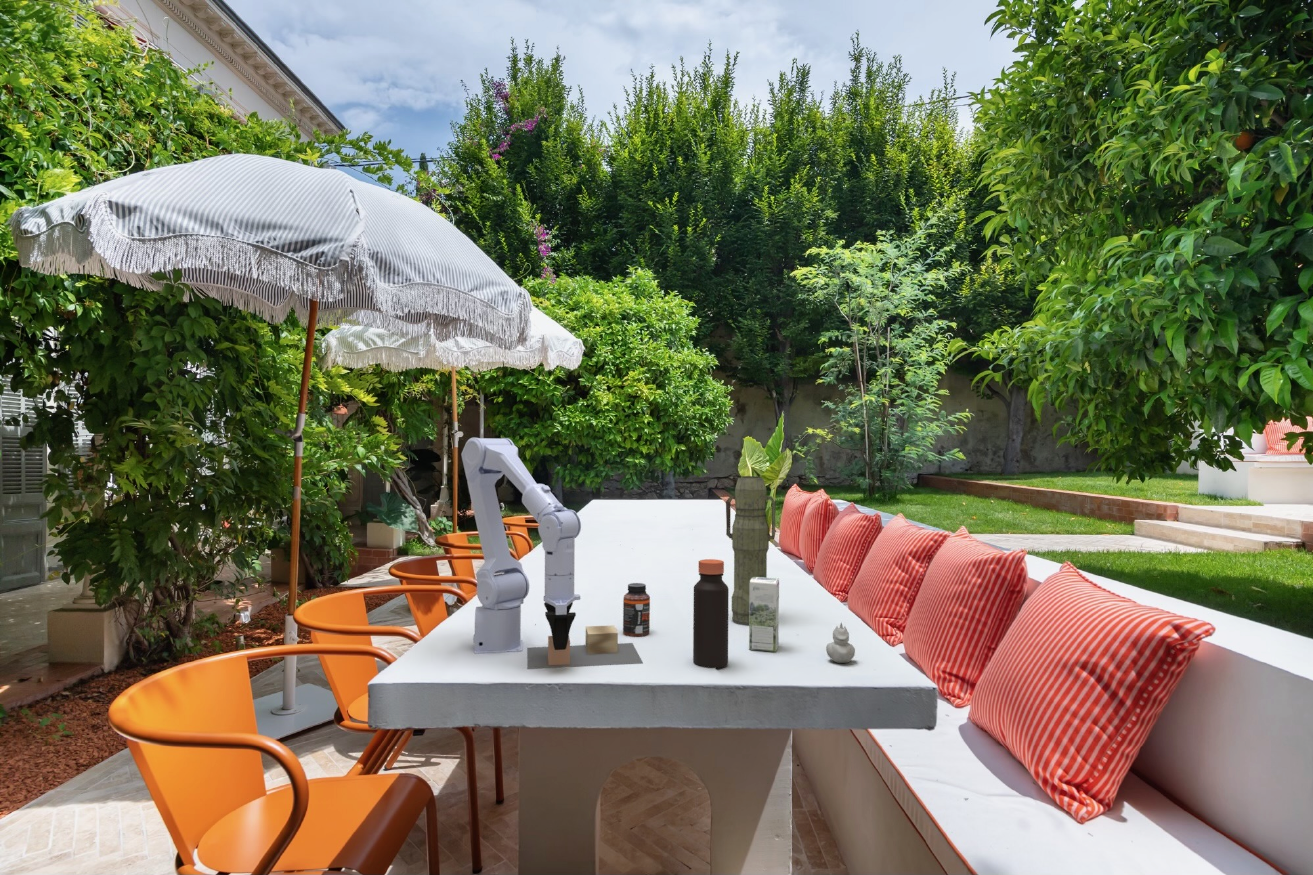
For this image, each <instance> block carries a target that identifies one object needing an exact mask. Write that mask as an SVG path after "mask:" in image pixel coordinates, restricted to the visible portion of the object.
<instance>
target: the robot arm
mask: <svg viewBox="0 0 1313 875" xmlns="http://www.w3.org/2000/svg"><path fill="white" fill-rule="evenodd" d="M460 455H461V460H462V464H463V468H464V473H465V477H466V480H467V481H466V482H467V488H468V493H469V495H470V496H469V497H470V501H471V506H472V510H473V515H474V519H475V523H476V528H477V533H478V537H479V542H480V546H481V551H482V555H483V560H484V563H483V564H482V565H481V566H480V568H479V569H478V571H476V573H475V575H476V576H475V578H476V596H477V599H478V601H479V602H480V604H481V606H476V607H475V612H474V634H473V645H474V648H473V649H474V651H473V653H474V654H475V655H477V654H478V655H479V654H497V653H499V654H500V653H519V652H520V653H521V652H523V639H521V633H522V632H521V631H522V630H521V622H522V621H521V619H522V618H521V616H522V614H521V613H522V606H521V605H523V604H524V599H526V598H527V597H528V595H529V591H530V581H529V578H528V576H527V575H526V573H525V572H524V571H525V570H524V569H523V564H522V563H521V562H520V561H519V560H517V559H516V558H514V557H513V556H512V555H511V551H510V548H509V543H508V539H507V534H506V530H505V525H504V522H503V517H502V512H501V508H500V504H499V500H498V496H497V491H496V487H495V486H496V483H497V481H498V480H499V479H501V478H502V477H503V475H505V477H506V478H507V479H508V480H509V481H510V482H511V483H512V484H513V485H514V486H515V487H516V489H517V490H518V491H519V492H520V493H521V494H522V496H521V503H522V505H524V506H525V508H526V510H527V511H528V512H529V513H530V515H531V516H532V517H533V518H534V520H535V521H536V522H537V523H538V526H537V531H538V535H539V537H540V539H541V541H542V542H541V543H542V550H543V551H544V595H543V602H544V603H543V605H544V607H545V610H546V611H545V619H546V620H547V622H548V625H549V627H550V631H551V636H552V639H553V645H554V649H555V650H565V649H566V647H567V642H568V637H569V638H570V631H571V627H572V625H573V622H574V620H575V618H576V616H577V613H576V612H575V611H574V612H570V611H571V609H572V607H573V604H574V603H573V602H575V601H580V600H581V595H580V594H575V546H576V545H575V544H576V543H575V539H576V538H578V536H579V534H580V533H581V528H582V524H581V519H580V517H579V515H578V513H577V512H576V511H575V510H573V509H568V508H567V507H564V506H563V504H562V503H561V502H560V500H558V499H557V498H556V497H555V495H554V494H553V493H552V492H551V488H550V487H549V485H545V484H544V483H537V482H536V481H535V479H534V478H533V476H532V475H531V473H530V471H529V470H528V469H527V467H526V466H525V464H524V463H523V461H522V460H521V458H520V457H519V448H518V447H517V446H516V445H515V444H514V442H513V440H511V439H510V438H508V437H502V438H490V437H489V438H485V437H484V438H482V437H481V438H479V437H471V438H469V439H468V440H467V441H466V442H465V445H464V447H463V450H462V452H461V454H460Z"/></svg>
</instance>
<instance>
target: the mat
mask: <svg viewBox="0 0 1313 875" xmlns="http://www.w3.org/2000/svg"><path fill="white" fill-rule="evenodd" d="M526 648H527V649H526V655H527V657H526V659H527V662H526V666H527V667H526V669H527V670H536V669H537V670H538V669H558V668H559V669H560V668H577V667H578V668H579V667H580V668H581V667H592V666H593V667H599V666H617V665H618V666H619V665H639V664H641V665H642V664H644V662H643V660H642V658H641V656H640V654H639V652H638V651H637V648H636V647H635V645H634V643H633V642H627V643H625V642H624V643H623V642H622V643H621V642H620V643H618V653H602V654H588V652H587V649H586V644H580V645H570V664H567V665H549V664H548V646H535V647H526Z"/></svg>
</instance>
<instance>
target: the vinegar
mask: <svg viewBox="0 0 1313 875" xmlns="http://www.w3.org/2000/svg"><path fill="white" fill-rule="evenodd" d="M724 566H725V562H724V560H721V559H715V558H714V559H713V558H710V559H700V560H698V575H699V580H698V581H697V582H696V583H695V584H694V586H693V628H692V629H693V630H692V632H693V635H692V640H693V641H692V648H693V649H692V650H693V651H692V652H693V653H692V656H693V658H692V661H693V665H695V666H697V667H700V668H707V669H716V670H717V669H718V670H720V669H723V668H726V667H727V666H728V664H729V586H728V584H727V583H725V581H724V580H723V576H724V572H725V567H724Z"/></svg>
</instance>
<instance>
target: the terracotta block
mask: <svg viewBox="0 0 1313 875" xmlns="http://www.w3.org/2000/svg"><path fill="white" fill-rule="evenodd" d="M570 646H571V640H570V636H569V637H568V642H567V647H566V649H565V650H555V649H554V645H553V639H552V635H548V636H547V647H548V664H549V665H567V664H570Z"/></svg>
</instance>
